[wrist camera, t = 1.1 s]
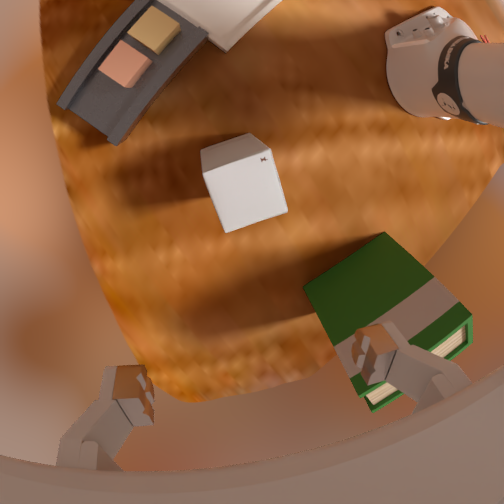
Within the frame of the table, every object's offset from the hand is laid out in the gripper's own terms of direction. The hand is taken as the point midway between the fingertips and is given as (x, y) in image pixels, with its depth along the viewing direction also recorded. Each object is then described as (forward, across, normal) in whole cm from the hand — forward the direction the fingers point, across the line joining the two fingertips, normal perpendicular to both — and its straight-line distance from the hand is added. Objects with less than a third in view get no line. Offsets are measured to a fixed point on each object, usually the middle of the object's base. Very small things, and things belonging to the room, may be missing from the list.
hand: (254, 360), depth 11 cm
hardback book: (+35, -24, +22) cm, 47 cm away
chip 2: (+31, +8, -14) cm, 35 cm away
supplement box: (+35, -4, +1) cm, 35 cm away
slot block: (+35, +8, -14) cm, 38 cm away
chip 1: (+30, +5, -18) cm, 36 cm away
